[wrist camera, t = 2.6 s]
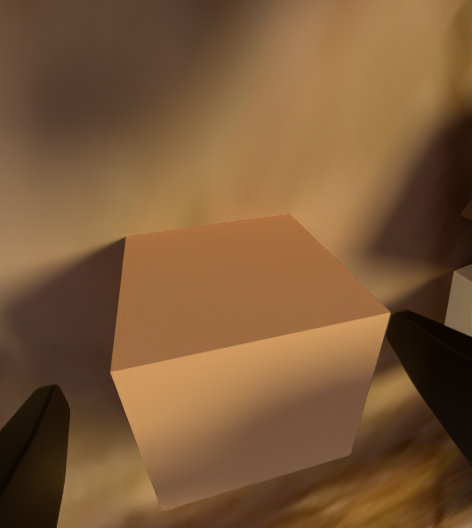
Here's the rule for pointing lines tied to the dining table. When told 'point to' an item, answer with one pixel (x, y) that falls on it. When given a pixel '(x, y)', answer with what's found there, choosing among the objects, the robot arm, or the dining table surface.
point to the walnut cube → (467, 210)
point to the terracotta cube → (240, 354)
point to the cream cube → (460, 301)
